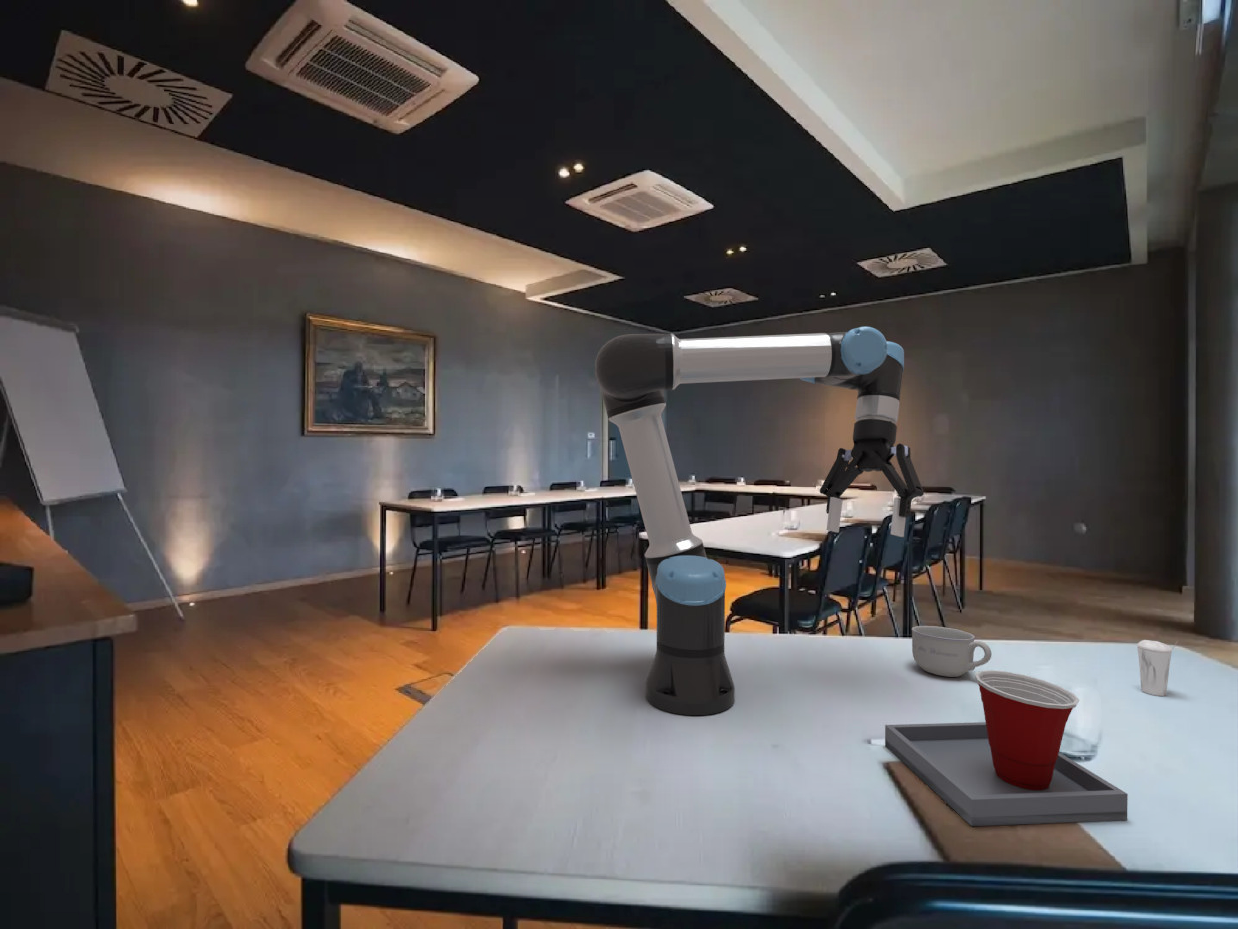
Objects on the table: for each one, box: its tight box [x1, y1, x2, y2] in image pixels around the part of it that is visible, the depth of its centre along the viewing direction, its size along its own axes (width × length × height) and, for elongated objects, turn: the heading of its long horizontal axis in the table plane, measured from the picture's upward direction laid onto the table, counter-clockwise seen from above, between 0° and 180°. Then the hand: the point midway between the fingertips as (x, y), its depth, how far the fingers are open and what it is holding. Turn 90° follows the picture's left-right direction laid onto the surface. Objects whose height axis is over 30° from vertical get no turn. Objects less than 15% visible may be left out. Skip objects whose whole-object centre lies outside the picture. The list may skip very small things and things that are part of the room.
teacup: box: [911, 625, 992, 678], centre depth 113 cm, size 14×11×8 cm
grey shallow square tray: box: [884, 721, 1129, 827], centre depth 76 cm, size 19×19×3 cm
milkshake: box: [1137, 639, 1179, 697], centre depth 104 cm, size 4×5×10 cm
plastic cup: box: [974, 669, 1080, 790], centre depth 74 cm, size 11×11×12 cm
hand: (863, 533), depth 109 cm, fingers open, 13 cm apart
